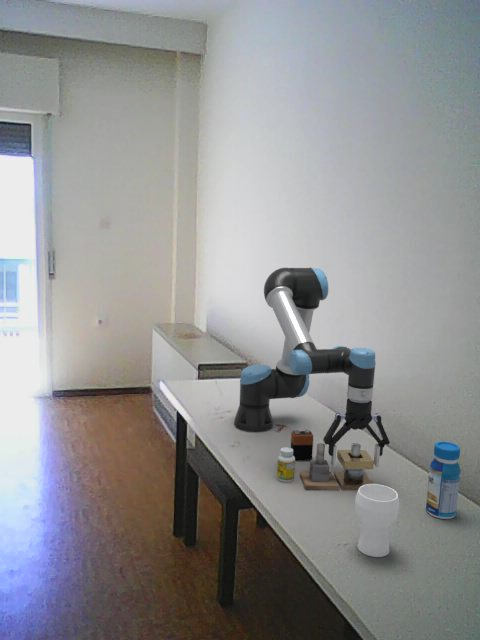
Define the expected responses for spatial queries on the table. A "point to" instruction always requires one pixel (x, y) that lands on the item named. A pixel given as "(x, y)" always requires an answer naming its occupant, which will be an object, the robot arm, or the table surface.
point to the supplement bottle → (286, 465)
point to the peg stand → (352, 473)
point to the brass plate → (355, 460)
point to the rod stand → (319, 473)
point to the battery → (302, 444)
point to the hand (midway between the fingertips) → (354, 465)
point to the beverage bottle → (444, 481)
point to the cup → (376, 517)
